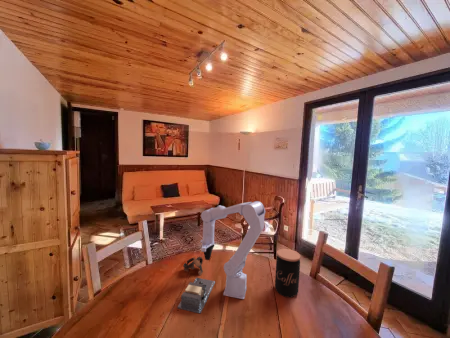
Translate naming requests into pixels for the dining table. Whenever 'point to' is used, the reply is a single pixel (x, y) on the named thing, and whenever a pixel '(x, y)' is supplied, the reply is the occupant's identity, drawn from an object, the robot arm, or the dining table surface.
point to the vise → (196, 297)
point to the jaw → (200, 286)
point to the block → (194, 290)
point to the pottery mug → (191, 265)
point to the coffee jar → (287, 272)
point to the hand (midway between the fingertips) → (207, 259)
